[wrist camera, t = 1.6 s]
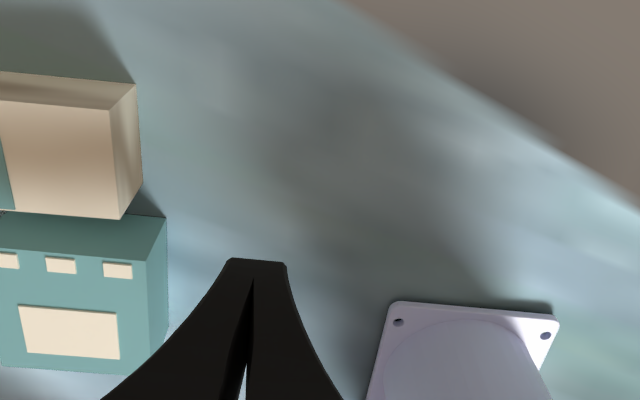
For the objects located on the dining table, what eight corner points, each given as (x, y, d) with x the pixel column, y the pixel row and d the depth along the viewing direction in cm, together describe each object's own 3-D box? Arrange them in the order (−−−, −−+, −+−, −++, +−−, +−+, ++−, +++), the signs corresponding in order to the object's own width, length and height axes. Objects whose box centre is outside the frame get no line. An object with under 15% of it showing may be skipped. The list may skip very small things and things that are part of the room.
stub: (144, 180, 20) (119, 220, 18) (15, 169, 20) (-31, 208, 17) (137, 82, 18) (108, 111, 16) (-6, 68, 18) (-61, 95, 15)
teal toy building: (168, 326, 24) (150, 379, 21) (36, 315, 23) (0, 367, 21) (166, 217, 21) (144, 262, 18) (15, 203, 21) (-30, 246, 18)
